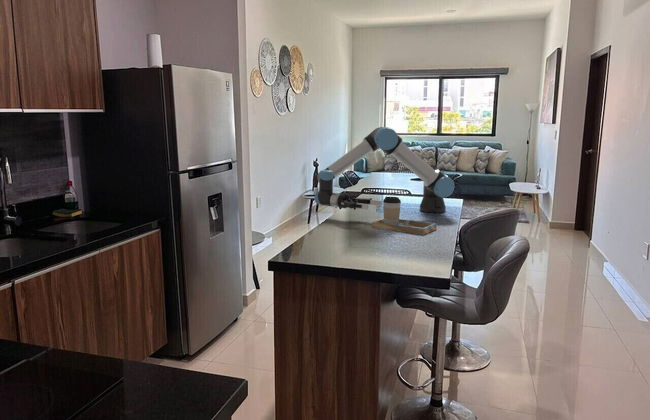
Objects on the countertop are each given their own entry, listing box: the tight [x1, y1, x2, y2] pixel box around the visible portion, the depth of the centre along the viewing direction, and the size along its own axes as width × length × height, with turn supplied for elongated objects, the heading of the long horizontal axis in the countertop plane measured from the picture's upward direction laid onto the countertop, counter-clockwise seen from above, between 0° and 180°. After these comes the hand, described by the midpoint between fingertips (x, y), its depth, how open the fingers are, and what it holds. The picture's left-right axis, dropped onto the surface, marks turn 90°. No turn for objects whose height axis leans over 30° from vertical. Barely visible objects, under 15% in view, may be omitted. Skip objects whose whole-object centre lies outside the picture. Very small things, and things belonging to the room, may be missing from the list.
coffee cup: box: [382, 195, 402, 225], centre depth 244 cm, size 9×9×15 cm
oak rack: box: [371, 217, 438, 236], centre depth 241 cm, size 15×28×3 cm, turn 54°
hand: (374, 205), depth 249 cm, fingers open, 13 cm apart
